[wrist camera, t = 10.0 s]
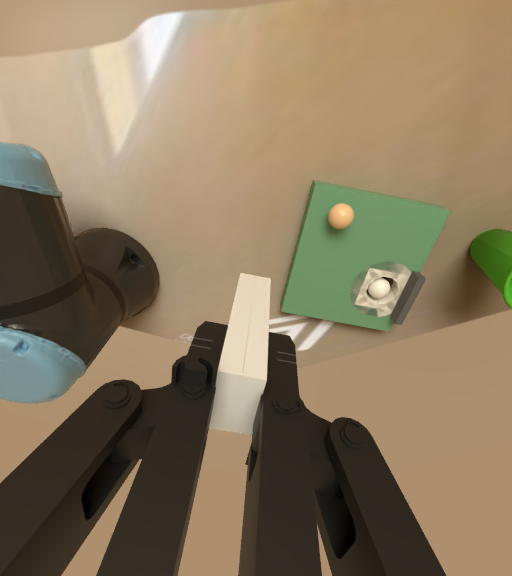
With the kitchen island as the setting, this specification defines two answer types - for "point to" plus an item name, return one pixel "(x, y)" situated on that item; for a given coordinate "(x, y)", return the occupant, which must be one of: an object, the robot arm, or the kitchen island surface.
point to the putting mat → (360, 257)
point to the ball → (379, 288)
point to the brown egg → (341, 216)
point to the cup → (495, 259)
